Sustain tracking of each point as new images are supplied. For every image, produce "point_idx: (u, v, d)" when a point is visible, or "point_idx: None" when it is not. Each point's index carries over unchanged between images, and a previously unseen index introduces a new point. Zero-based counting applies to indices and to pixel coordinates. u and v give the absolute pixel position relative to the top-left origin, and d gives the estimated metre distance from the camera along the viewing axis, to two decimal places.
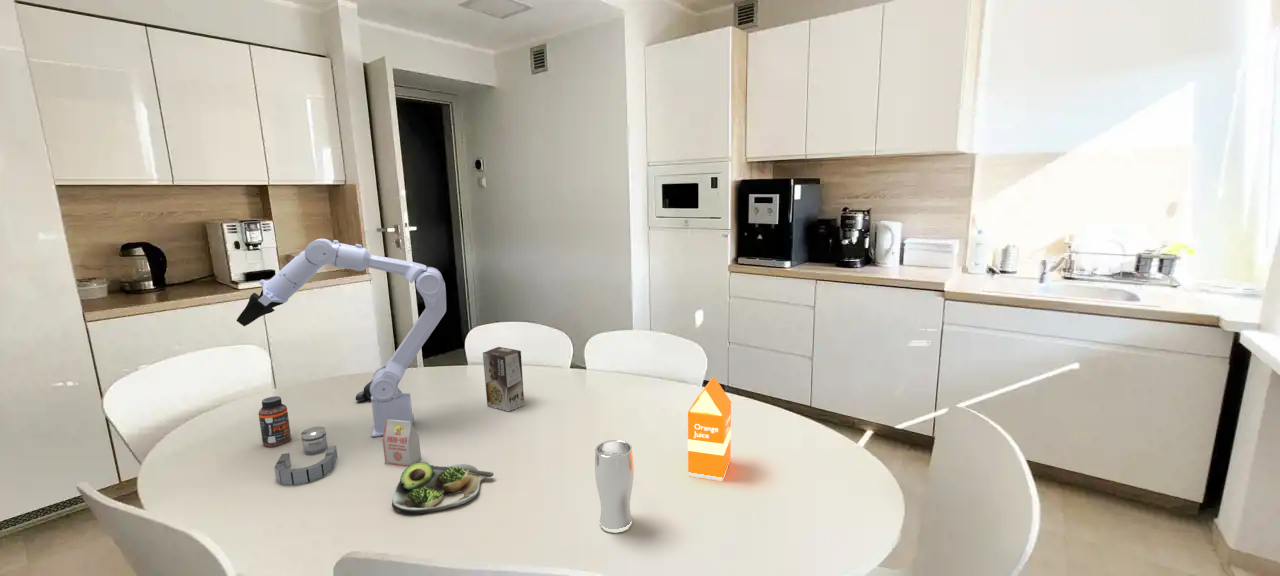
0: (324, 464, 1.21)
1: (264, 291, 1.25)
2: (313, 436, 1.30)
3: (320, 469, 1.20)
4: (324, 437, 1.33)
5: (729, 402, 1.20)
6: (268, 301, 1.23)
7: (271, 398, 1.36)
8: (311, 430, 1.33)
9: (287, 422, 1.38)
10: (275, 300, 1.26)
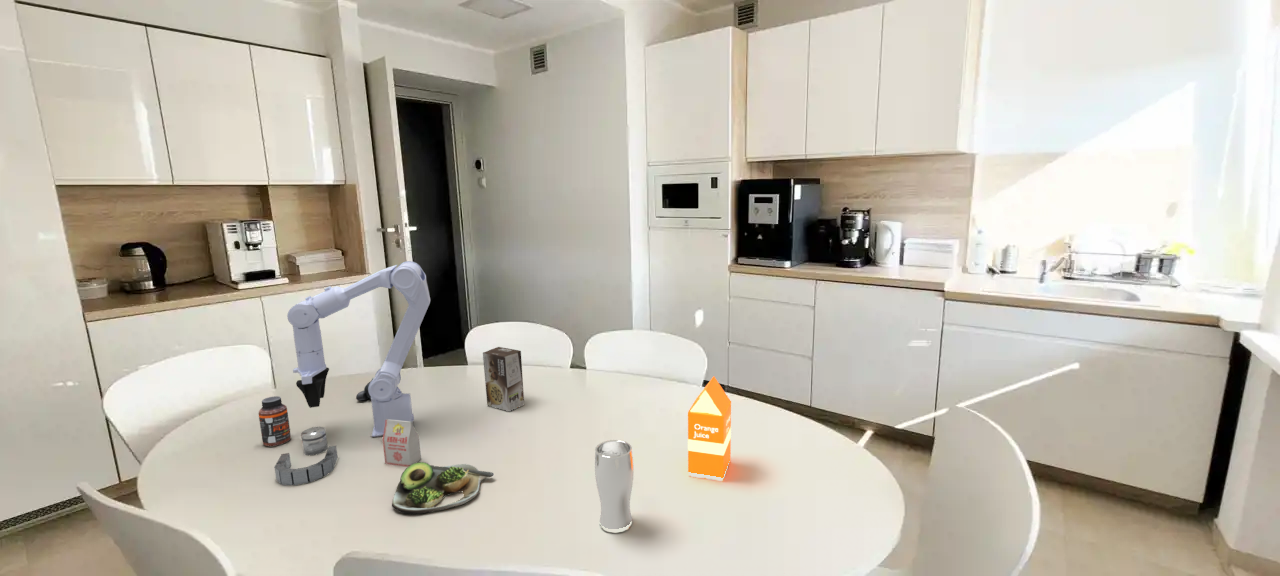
0: (324, 464, 1.21)
1: (300, 375, 1.32)
2: (313, 436, 1.30)
3: (320, 469, 1.20)
4: (324, 437, 1.33)
5: (729, 402, 1.20)
6: (309, 378, 1.30)
7: (271, 398, 1.36)
8: (311, 430, 1.33)
9: (287, 422, 1.38)
10: (314, 373, 1.33)
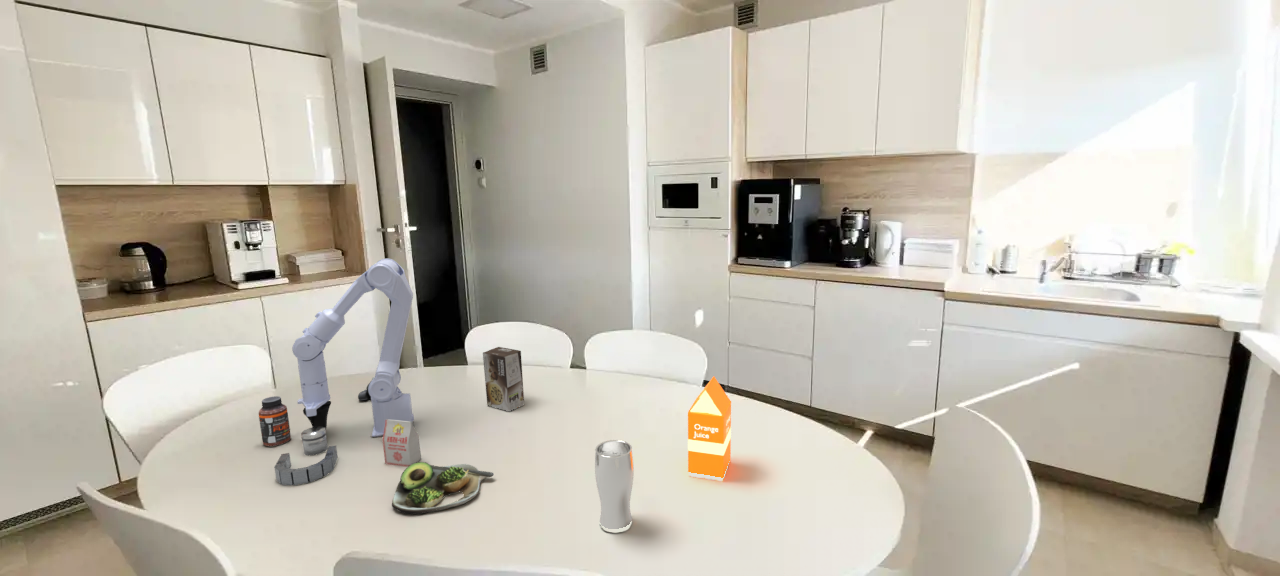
0: (324, 464, 1.21)
1: (305, 407, 1.33)
2: (313, 436, 1.30)
3: (320, 469, 1.20)
4: (324, 437, 1.33)
5: (729, 402, 1.20)
6: (313, 411, 1.32)
7: (271, 398, 1.36)
8: (311, 430, 1.33)
9: (287, 422, 1.38)
10: (318, 405, 1.34)
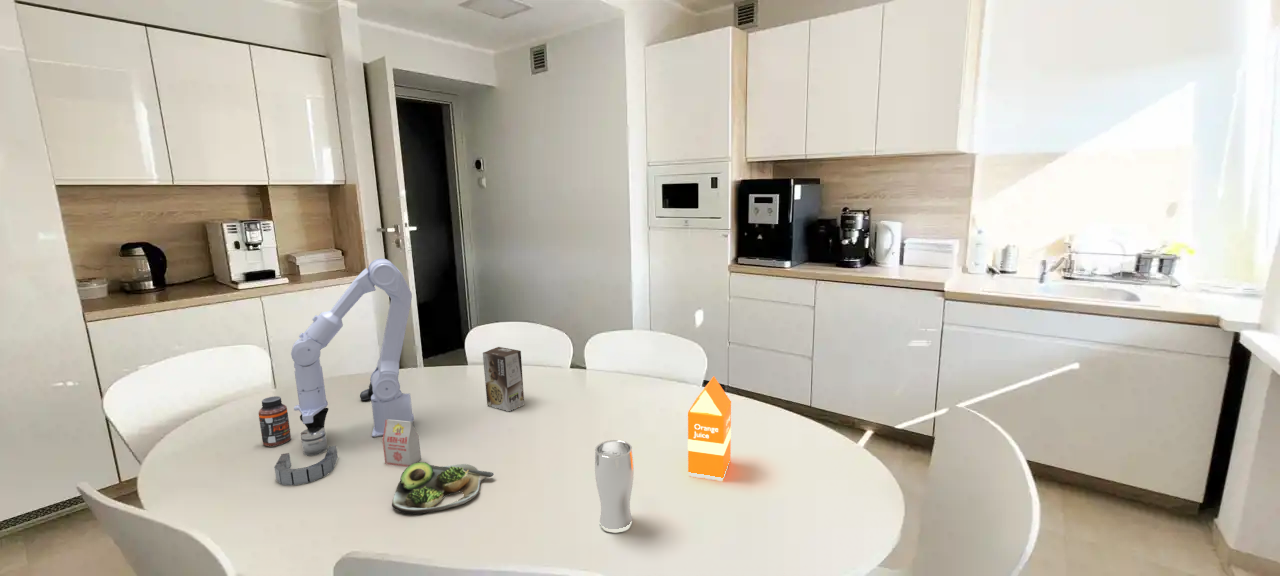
0: (324, 464, 1.21)
1: (301, 413, 1.30)
2: (313, 436, 1.30)
3: (320, 469, 1.20)
4: (324, 437, 1.32)
5: (729, 402, 1.20)
6: (310, 418, 1.28)
7: (271, 398, 1.36)
8: (311, 430, 1.33)
9: (287, 422, 1.38)
10: (315, 412, 1.31)
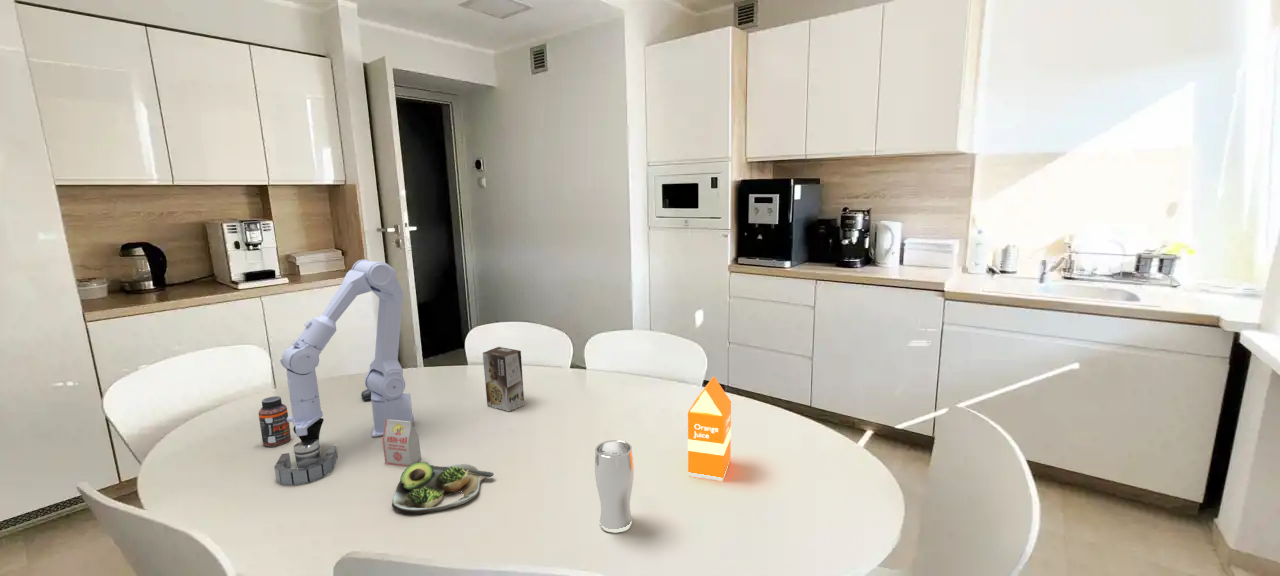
0: (324, 464, 1.21)
1: (295, 425, 1.23)
2: (306, 449, 1.24)
3: (320, 469, 1.20)
4: (318, 450, 1.26)
5: (729, 402, 1.20)
6: (304, 430, 1.22)
7: (271, 398, 1.36)
8: (304, 443, 1.26)
9: (287, 422, 1.38)
10: (309, 423, 1.24)
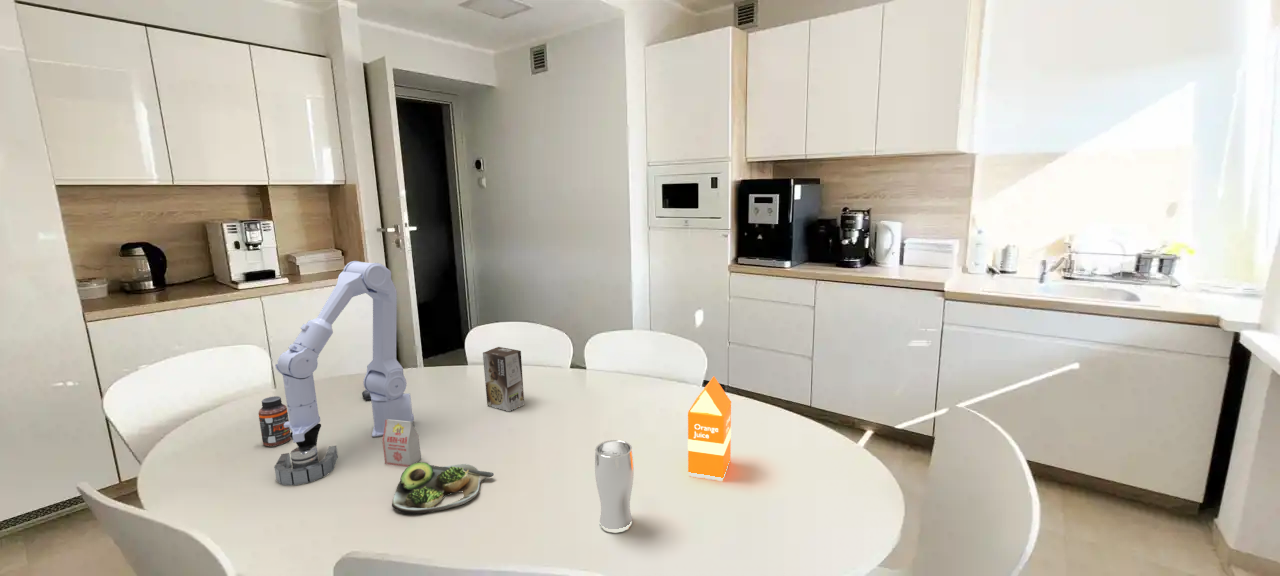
0: (324, 464, 1.21)
1: (292, 431, 1.21)
2: (303, 456, 1.21)
3: (320, 469, 1.20)
4: (315, 457, 1.23)
5: (729, 402, 1.20)
6: (301, 436, 1.19)
7: (271, 398, 1.36)
8: (302, 449, 1.23)
9: None
10: (307, 429, 1.21)
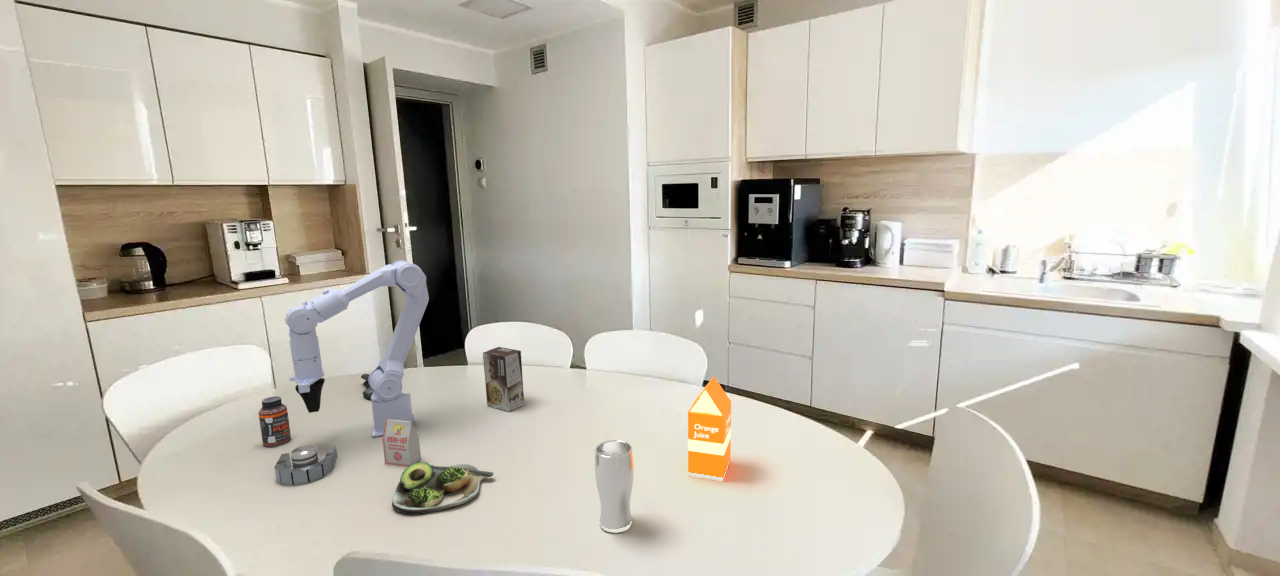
0: (324, 464, 1.21)
1: (297, 383, 1.27)
2: (303, 456, 1.21)
3: (320, 469, 1.20)
4: (315, 457, 1.23)
5: (729, 402, 1.20)
6: (306, 387, 1.25)
7: (271, 398, 1.36)
8: (302, 449, 1.23)
9: (287, 422, 1.38)
10: (312, 381, 1.27)
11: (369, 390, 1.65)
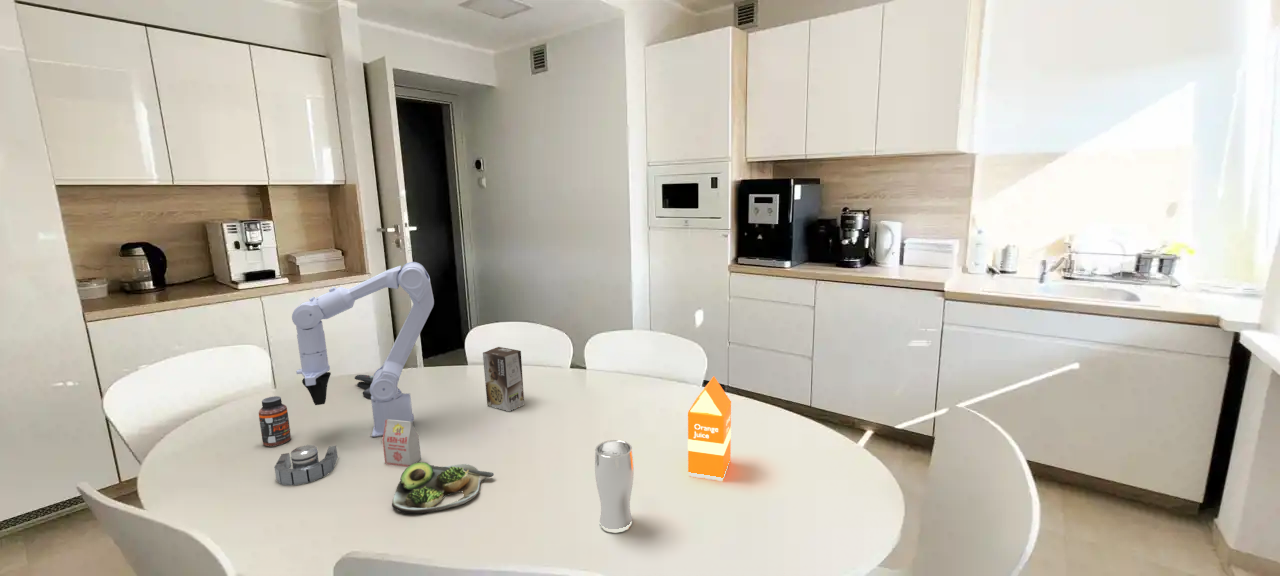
0: (324, 464, 1.21)
1: (304, 376, 1.31)
2: (303, 456, 1.21)
3: (320, 469, 1.20)
4: (315, 457, 1.23)
5: (729, 402, 1.20)
6: (313, 380, 1.29)
7: (271, 398, 1.36)
8: (302, 449, 1.23)
9: (287, 422, 1.38)
10: (318, 375, 1.32)
11: None
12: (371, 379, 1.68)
